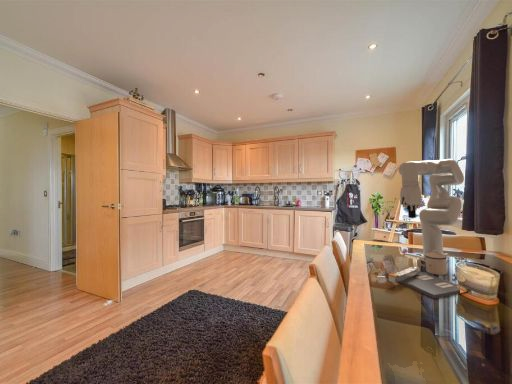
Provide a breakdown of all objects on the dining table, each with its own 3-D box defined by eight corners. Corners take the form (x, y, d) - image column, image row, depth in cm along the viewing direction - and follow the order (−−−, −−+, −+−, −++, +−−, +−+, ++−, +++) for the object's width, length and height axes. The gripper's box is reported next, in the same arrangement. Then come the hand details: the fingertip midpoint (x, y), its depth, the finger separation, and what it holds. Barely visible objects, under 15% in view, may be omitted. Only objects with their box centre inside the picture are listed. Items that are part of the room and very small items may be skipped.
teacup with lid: (445, 270, 121) (444, 248, 121) (448, 276, 113) (447, 253, 113) (418, 267, 127) (417, 247, 127) (419, 273, 120) (418, 251, 120)
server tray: (422, 274, 117) (422, 270, 117) (468, 292, 97) (468, 287, 97) (393, 279, 114) (393, 275, 114) (434, 298, 93) (433, 293, 93)
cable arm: (413, 270, 117) (413, 264, 117) (421, 272, 114) (421, 266, 114) (388, 281, 107) (387, 274, 107) (396, 283, 103) (395, 276, 103)
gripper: (415, 183, 129) (417, 215, 129) (393, 185, 126) (395, 218, 126) (428, 183, 121) (429, 217, 122) (404, 184, 118) (406, 219, 118)
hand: (412, 217), depth 124 cm, fingers closed
